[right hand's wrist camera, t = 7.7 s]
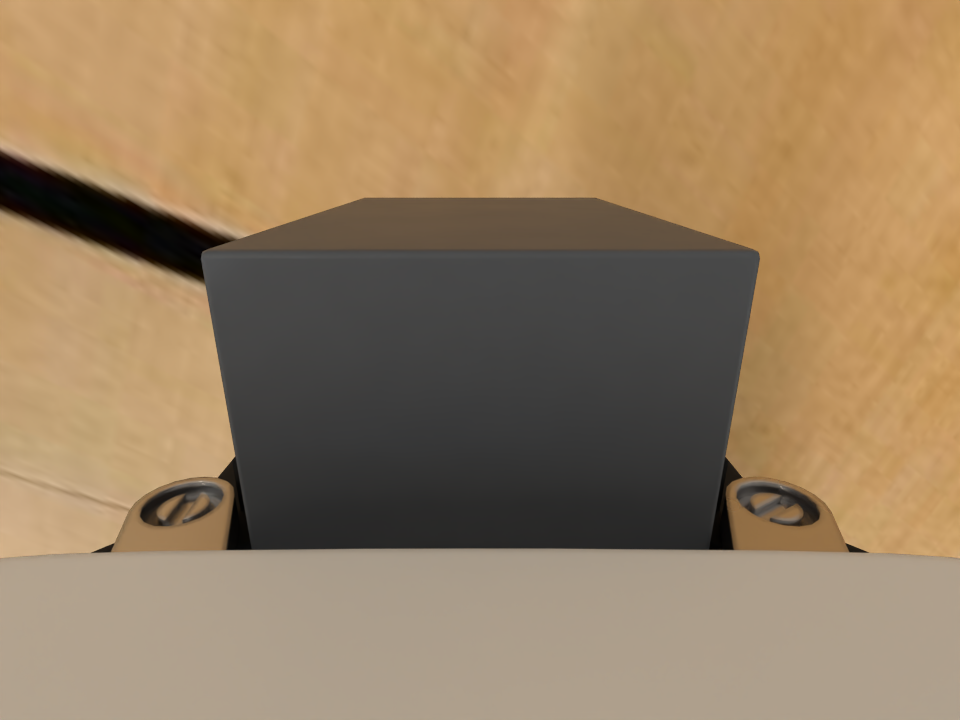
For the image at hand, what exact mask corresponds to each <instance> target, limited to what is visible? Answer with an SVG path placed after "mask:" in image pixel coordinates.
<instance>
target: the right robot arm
mask: <svg viewBox="0 0 960 720" xmlns="http://www.w3.org/2000/svg"><path fill="white" fill-rule="evenodd" d="M0 720H960V558H952V557H938V556H922V555H906V554H889V553H869V552H866V551H864V550H861V549H859V548H856V547H854V546H851V545H849V544H846V543H845V541H844V539H843V537H842V535H841V532H840V530H839V528H838V526H837V523H836V521H835V519H834V517H833V514H832V512H831V511H830V509H829V508H828V507H827V505H826V504H825V503H824V502H823V501H822V500H820V499H819V498H818V497H817V496H815V495H814V494H812V493H810V492H809V491H807V490H805V489H803V488H801V487H799V486H796V485H793V484H790V483H788V482H785V481H780V480H776V479H771V478H762V477H748V478H742V477H741V475H740V474H739V473H738V472H737V470H736V469H735V468H734V467H733V466H732V464H731V463H730V462H729V461H728V459H727V458H726V457H725V460H724V466H723V472H722V478H721V483H720V489H719V495H718V500H717V506H716V512H715V518H714V523H713V529H712V535H711V540H710V546H709V550H653V549H297V550H252V548H251V542H250V536H249V531H248V525H247V519H246V513H245V508H244V502H243V496H242V490H241V485H240V479H239V473H238V467H237V462H236V456H235V457H234V459H233V460H232V461H231V462H230V464H229V465H228V466H227V467H226V468H225V470H224V471H223V472H222V473H221V475H220V476H219V477H218V478H212V477H198V478H189V479H184V480H180V481H175V482H172V483H170V484H167V485H164V486H161V487H159V488H157V489H155V490H153V491H151V492H150V493H148V494H146V495H145V496H143V497H142V498H141V499H140V500H138V501H137V502H136V503H135V504H134V505H133V507H132V508H131V509H130V511H129V512H128V514H127V517H126V519H125V521H124V523H123V526H122V528H121V530H120V532H119V535H118V537H117V539H116V541H115V543H114V544H111V545H109V546H106V547H104V548H102V549H99V550H97V551H94V552H92V553H76V554H52V555H38V556H23V557H9V558H0Z"/></svg>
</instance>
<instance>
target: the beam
mask: <svg viewBox="0 0 960 720" xmlns="http://www.w3.org/2000/svg"><path fill="white" fill-rule="evenodd" d="M759 260H760V257H759V253H758V251H755V250H753V249H750V248H747V247H744V246H741V245H738V244H735V243H732V242H729V241H726V240H723V239H720V238H717V237H714V236H711V235H707V234H704V233H701V232H698V231H695V230H692V229H689V228H686V227H683V226H680V225H677V224H674V223H671V222H668V221H665V220H662V219H658V218H655V217H652V216H649V215H646V214H643V213H640V212H637V211H634V210H631V209H628V208H625V207H622V206H619V205H616V204H613V203H609V202H606V201H603V200H600V199H597V198H363V199H360V200H357V201H354V202H351V203H348V204H344V205H341V206H338V207H335V208H332V209H329V210H326V211H323V212H320V213H317V214H314V215H311V216H308V217H305V218H302V219H299V220H296V221H293V222H290V223H287V224H284V225H281V226H278V227H275V228H272V229H269V230H265V231H262V232H259V233H256V234H253V235H250V236H247V237H244V238H241V239H238V240H235V241H232V242H229V243H226V244H223V245H220V246H217V247H214V248H211V249H208V250H206V251H204V252H203V253H202V256H201V261H202V267H203V273H204V278H205V284H206V290H207V296H208V301H209V307H210V313H211V318H212V324H213V330H214V336H215V341H216V347H217V353H218V359H219V364H220V370H221V376H222V382H223V387H224V393H225V399H226V404H227V410H228V416H229V422H230V427H231V433H232V439H233V445H234V450H235V456H236V462H237V467H238V473H239V479H240V485H241V490H242V496H243V502H244V508H245V513H246V519H247V525H248V531H249V536H250V542H251V548H252V550H297V549H653V550H709V546H710V540H711V535H712V529H713V523H714V518H715V512H716V506H717V500H718V495H719V489H720V483H721V478H722V472H723V466H724V460H725V455H726V449H727V443H728V438H729V432H730V426H731V420H732V415H733V409H734V403H735V398H736V392H737V386H738V380H739V375H740V369H741V363H742V358H743V352H744V346H745V340H746V335H747V329H748V323H749V318H750V312H751V306H752V300H753V295H754V289H755V283H756V278H757V272H758V266H759Z"/></svg>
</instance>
